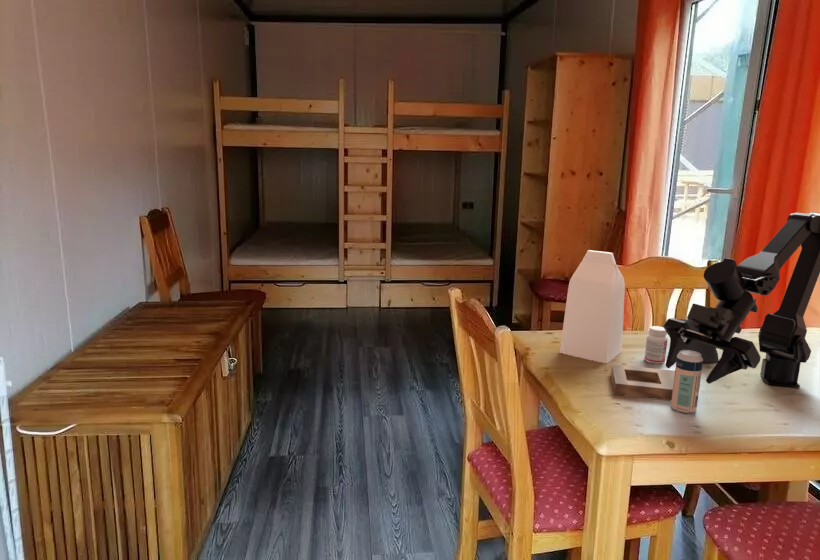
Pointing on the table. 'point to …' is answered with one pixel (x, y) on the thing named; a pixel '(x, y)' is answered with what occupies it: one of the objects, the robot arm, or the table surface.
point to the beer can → (687, 381)
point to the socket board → (643, 382)
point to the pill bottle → (656, 345)
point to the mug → (702, 346)
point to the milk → (594, 309)
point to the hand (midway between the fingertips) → (686, 374)
